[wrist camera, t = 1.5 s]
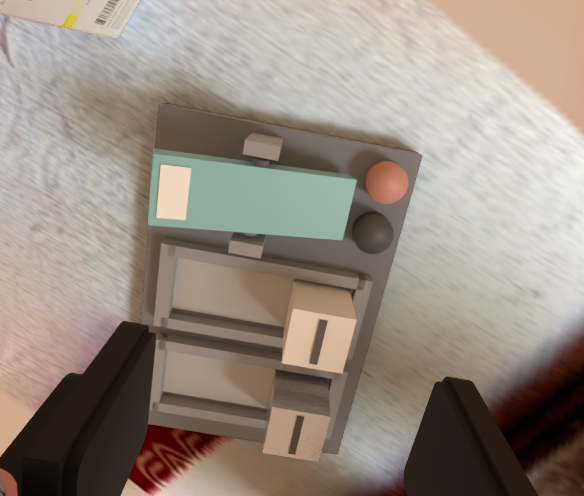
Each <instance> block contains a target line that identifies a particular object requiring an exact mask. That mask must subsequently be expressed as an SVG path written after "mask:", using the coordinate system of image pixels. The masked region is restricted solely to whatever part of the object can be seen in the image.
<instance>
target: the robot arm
mask: <svg viewBox="0 0 584 496" xmlns="http://www.w3.org/2000/svg"><path fill="white" fill-rule="evenodd" d="M155 347H156V333H153V332H149V326H148V325H144V324H138V323H132V322H127V321H123V322H122V323H121V324H120V325H119V326H118V328H117V329H116V330H115V332H114V333H113V334H112V336H111V337H110V338H109V340H108V341H107V342H106V344H105V345H104V346H103V348H102V349H101V350H100V352H99V353H98V355H97V356H96V357H95V359H94V360H93V361H92V363H91V364H90V365H89V367H88V368H87V369H86V371H85V372H84V373H83V375H82V374H76V373H70V374H67V375H66V376H65V377H64V378H63V379H62V381H61V382H60V383H59V384H58V386H57V387H56V388H55V389H54V391H53V392H52V393H51V394H50V396H49V397H48V398H47V399H46V401H45V402H44V403H43V404H42V406H41V407H40V408H39V409H38V411H37V412H36V413H35V414H34V416H33V417H32V418H31V419H30V421H29V422H28V423H27V424H26V426H25V427H24V428H23V429H22V431H21V432H20V433H19V434H18V436H17V437H16V438H15V439H14V441H13V442H12V444H10V446H9V447H8V448H7V449H6V451H5V452H4V453H3V454H2V456H1V457H0V496H120V495H121V493H122V491H123V488H124V486H125V484H126V482H127V479H128V477H129V475H130V472H131V470H132V468H133V465H134V463H135V461H136V459H137V456H138V454H139V452H140V449H141V447H142V445H143V442H144V440H145V436H146V433H147V428H148V419H149V408H150V398H151V388H152V378H153V367H154V357H155ZM404 484H405V489H406V492H407V496H538V495H537V493H536V491H535V490H534V488H533V486H532V484H531V483H530V481H529V479H528V477H527V476H526V474H525V472H524V470H523V469H522V467H521V465H520V463H519V462H518V460H517V458H516V456H515V455H514V453H513V451H512V449H511V448H510V446H509V444H508V443H507V441H506V439H505V437H504V436H503V434H502V432H501V430H500V429H499V427H498V425H497V423H496V422H495V420H494V418H493V416H492V415H491V413H490V411H489V409H488V408H487V406H486V404H485V402H484V401H483V399H482V397H481V395H480V394H479V392H478V390H477V388H476V387H475V385H474V384H473V382H472V381H470V380H464V379H458V378H453V377H445V378H444V379H443V381H442V382H439V381H438V382H436V383H435V385H434V387H433V390H432V393H431V395H430V398H429V401H428V404H427V407H426V410H425V412H424V415H423V418H422V421H421V424H420V427H419V429H418V432H417V435H416V438H415V441H414V444H413V446H412V449H411V452H410V455H409V458H408V460H407V463H406V466H405V470H404Z"/></svg>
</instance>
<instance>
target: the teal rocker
mask: <svg viewBox="0 0 584 496" xmlns="http://www.w3.org/2000/svg"><path fill="white" fill-rule="evenodd" d="M269 162H270V161H268V160H266V159H261V158H253V159H252V161H245V160H237V159H229V158H222V157H214V156H207V155H199V154H192V153H184V152H177V151H169V150H162V149H154V148H153V157H152V169H151V181H150V194H149V206H148V225H154V226H166V227H179V228H192V229H204V230H217V231H230V232H241V233H242V234H243V235H246V236H257V234H268V235H281V236H294V237H306V238H319V239H332V240H343V236H344V232H345V228H346V224H347V219H348V215H349V211H350V207H351V203H352V199H353V194H354V190H355V186H356V182H357V180H356V179H355V178H353V177H351V176H350V175H348V174H342V173H335V172H327V171H320V170H312V169H305V168H297V167H290V166H282V165H275V164H269Z"/></svg>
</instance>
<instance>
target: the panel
mask: <svg viewBox="0 0 584 496" xmlns="http://www.w3.org/2000/svg"><path fill="white" fill-rule="evenodd" d="M155 149H162V150H169V151H177V152H184V153H192V154H199V155H207V156H214V157H222V158H229V159H237V160H245V161H252V159H253V158H261V159H266V160H268V161H270V162H269V164H275V165H282V166H290V167H297V168H305V169H312V170H320V171H327V172H335V173H342V174H348V175H350V176H351V177H353V178H355V179H356V180H357V182H356V186H355V190H354V194H353V199H352V203H351V207H350V211H349V215H348V219H347V224H346V228H345V232H344V236H343V240H332V239H319V238H306V237H294V236H281V235H268V234H257V236H246V235H243V234H242V233H241V232H230V231H217V230H204V229H192V228H179V227H166V226H154V225H149V230H148V242H147V254H146V266H145V278H144V290H143V302H142V314H141V324H144V325H148V326H149V332H153V333H156V347H155V357H154V367H153V378H152V388H151V398H150V408H149V419H148V424H152V425H158V426H164V427H170V428H176V429H182V430H189V431H195V432H201V433H207V434H213V435H219V436H226V437H232V438H238V439H244V440H250V441H256V442H263V443H264V434H265V424H266V415H267V407H268V402H269V398H270V393H271V388H272V383H273V378H274V374H275V369H277V370H283V371H289V372H295V373H301V374H306V375H312V376H318V377H324V378H327V380H328V391H329V403H330V414H331V418H330V422H329V425H328V429H327V433H326V436H325V440H324V444H323V448H322V451H321V452H324V453H330V454H338V451H339V447H340V444H341V440H342V437H343V433H344V430H345V426H346V423H347V419H348V416H349V412H350V409H351V405H352V402H353V398H354V395H355V391H356V388H357V384H358V381H359V377H360V374H361V370H362V367H363V363H364V360H365V356H366V353H367V349H368V345H369V342H370V338H371V335H372V331H373V328H374V324H375V321H376V317H377V314H378V310H379V307H380V303H381V300H382V296H383V293H384V289H385V286H386V282H387V279H388V275H389V272H390V268H391V265H392V261H393V258H394V254H395V251H396V247H397V244H398V240H399V237H400V233H401V230H402V226H403V223H404V219H405V216H406V212H407V208H408V205H409V201H410V198H411V194H412V191H413V187H414V184H415V180H416V177H417V173H418V170H419V166H420V163H421V159H422V155H421V154H419V153H417V152H413V151H408V150H403V149H398V148H392V147H387V146H382V145H377V144H372V143H367V142H362V141H357V140H352V139H346V138H341V137H336V136H331V135H326V134H321V133H316V132H311V131H306V130H300V129H295V128H290V127H285V126H280V125H275V124H270V123H265V122H260V121H254V120H249V119H244V118H239V117H234V116H229V115H224V114H219V113H214V112H208V111H203V110H198V109H193V108H188V107H183V106H178V105H173V104H168V103H163V104H159V110H158V122H157V134H156V146H155ZM294 279H297V280H303V281H308V282H314V283H319V284H325V285H330V286H336V287H341V288H347V289H350V294H351V298H352V302H353V306H354V310H355V315H356V319H357V321H356V325H355V328H354V332H353V336H352V340H351V343H350V347H349V351H348V354H347V358H346V362H345V366H344V369H343V373H342V374H341V373H335V372H330V371H324V370H318V369H312V368H306V367H300V366H294V365H289V364H283V363H282V350H283V335H284V325H285V320H286V316H287V311H288V306H289V301H290V296H291V292H292V287H293V282H294Z"/></svg>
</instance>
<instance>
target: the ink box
mask: <svg viewBox="0 0 584 496" xmlns="http://www.w3.org/2000/svg"><path fill="white" fill-rule="evenodd" d="M139 2H140V0H0V14H3V15H7V16H12V17H16V18H20V19H25V20H30V21H34V22H39V23H44V24H48V25H53V26H58V27H64V28H68V29H72V30H77V31H82V32H87V33H92V34H96V35H101V36H105V37H110V38H118V37H119V35H120V34H121V32H122V30H123V28H124V27H125V25H126V23H127V22H128V20H129V19H130V17H131V15H132V14H133V12H134V10H135V8H136V7H137V5H138V4H139Z"/></svg>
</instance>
